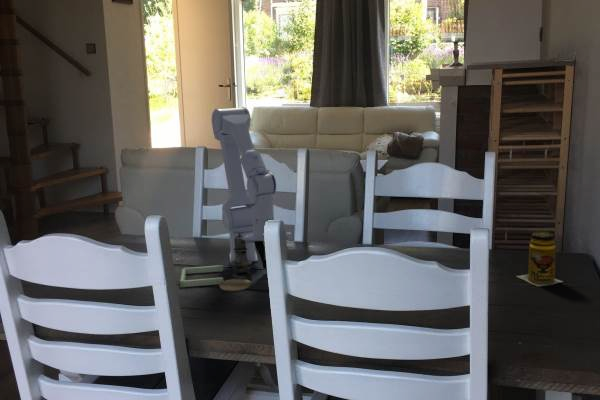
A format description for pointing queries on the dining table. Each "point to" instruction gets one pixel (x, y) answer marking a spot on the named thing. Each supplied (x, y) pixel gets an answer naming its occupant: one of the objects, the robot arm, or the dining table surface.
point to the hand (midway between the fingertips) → (265, 267)
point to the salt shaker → (241, 259)
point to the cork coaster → (235, 284)
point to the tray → (200, 281)
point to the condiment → (541, 260)
